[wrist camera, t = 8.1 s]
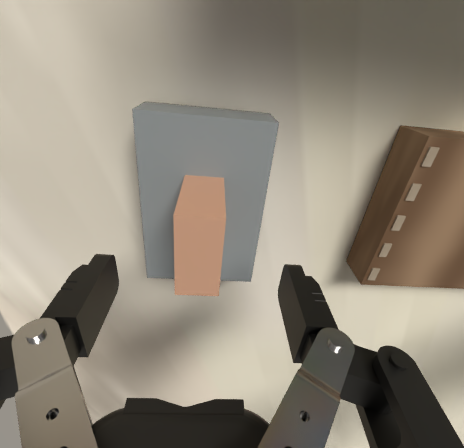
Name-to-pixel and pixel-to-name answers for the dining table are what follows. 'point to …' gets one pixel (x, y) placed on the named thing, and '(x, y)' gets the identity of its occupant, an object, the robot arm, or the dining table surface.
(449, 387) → the dining table surface
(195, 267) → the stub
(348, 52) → the dining table surface
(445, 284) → the board
